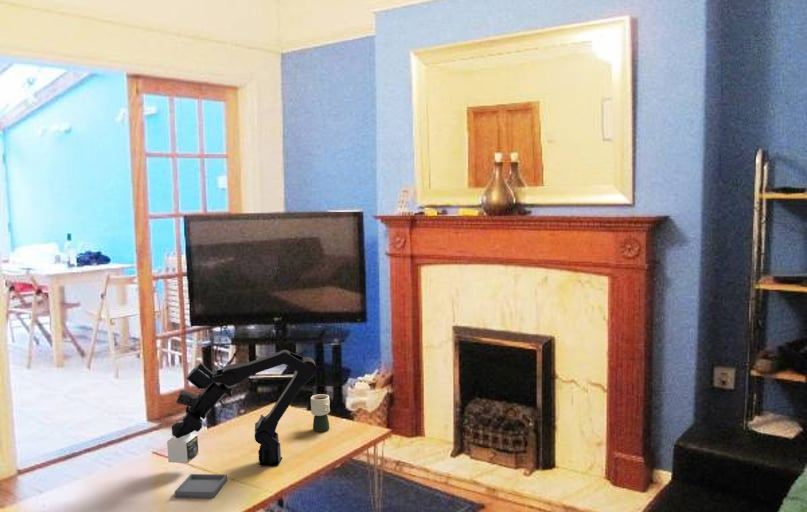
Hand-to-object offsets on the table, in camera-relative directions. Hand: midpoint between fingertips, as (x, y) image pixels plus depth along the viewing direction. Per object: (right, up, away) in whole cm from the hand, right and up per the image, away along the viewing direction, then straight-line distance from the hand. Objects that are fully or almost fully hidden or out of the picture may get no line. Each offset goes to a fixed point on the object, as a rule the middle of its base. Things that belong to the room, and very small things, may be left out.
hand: (177, 433), depth 215 cm
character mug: (+43, -9, +36) cm, 57 cm away
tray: (+11, -14, -11) cm, 21 cm away
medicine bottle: (+2, -9, +1) cm, 9 cm away
